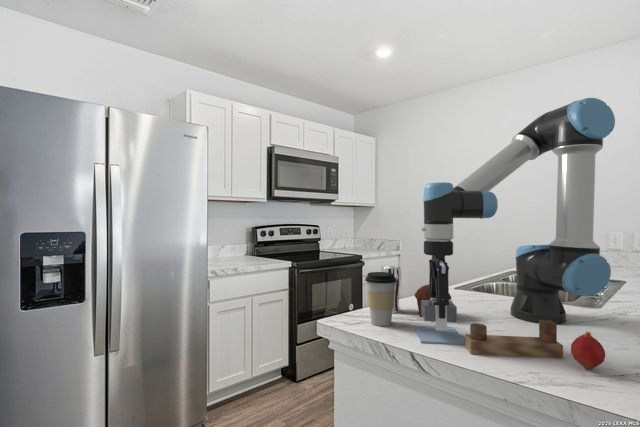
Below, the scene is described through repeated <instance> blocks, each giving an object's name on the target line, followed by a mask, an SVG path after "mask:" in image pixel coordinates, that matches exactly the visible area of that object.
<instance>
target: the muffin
mask: <svg viewBox="0 0 640 427" xmlns="http://www.w3.org/2000/svg"><path fill="white" fill-rule="evenodd" d="M414 298H416V303H417V310H418V315H419V317H420V318H422V315H421V300H431V298H432V297H430V294H429V284H425V285H422V286H421V287H419V288H417V290H416V292H415V293H414ZM449 300H452V295H451V294H450V293H449Z"/></svg>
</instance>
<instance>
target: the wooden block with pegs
mask: <svg viewBox="0 0 640 427" xmlns="http://www.w3.org/2000/svg"><path fill="white" fill-rule="evenodd" d="M557 324H558V323H554V322H552V321H551V320H539V323H538V330H539V331H538V332H539V333H538V334H539V335H538V336H518V335H517V336H516V335H490V334H488V327H487V325H486V324H483V323H478V322H477V323H476V322H475V323H470V326H469V328H470V329H469V330H470V332H469V333H470V334H469V333H468V334H467V333H465V334H464V341H465V345H464V348H466V350H467V351H468V352H469V354H470V355H481V356H482V355H484V356H503V357H523V358H526V357H527V358H543V359H544V358H547V359H548V358H549V359H564V345H563V344H562V343H561V342H559V341H558V338H557V335H558V334H557V330H558V328H557V326H558V325H557Z"/></svg>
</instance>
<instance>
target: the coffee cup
mask: <svg viewBox="0 0 640 427" xmlns="http://www.w3.org/2000/svg"><path fill="white" fill-rule="evenodd" d="M364 281H365V282H366V284H367V299H368V308H369V311H370V312H369V313H370V321H371V322H370V323H371V325H373V326H377V327H389V326H391V325H392V318H393V313H392V309H393V304H394V293H395V290H394V288H395V282H396V278H395V277H394V274H393V273H388V272H381V271H371V272H369V273H367V275H366V276H365V279H364Z"/></svg>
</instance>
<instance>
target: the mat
mask: <svg viewBox="0 0 640 427" xmlns="http://www.w3.org/2000/svg"><path fill="white" fill-rule="evenodd" d="M414 330H415V332H416V334H417V337H418V339H419V342H420V344H434V345H435V344H436V345H458V346H460V345H461V346H462V345H463V346H465V339H463V337H462V336H461V335H460V333H459V332H458V331H457V329H456V328H447V331H441V330H436V329H435V327H414Z"/></svg>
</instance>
